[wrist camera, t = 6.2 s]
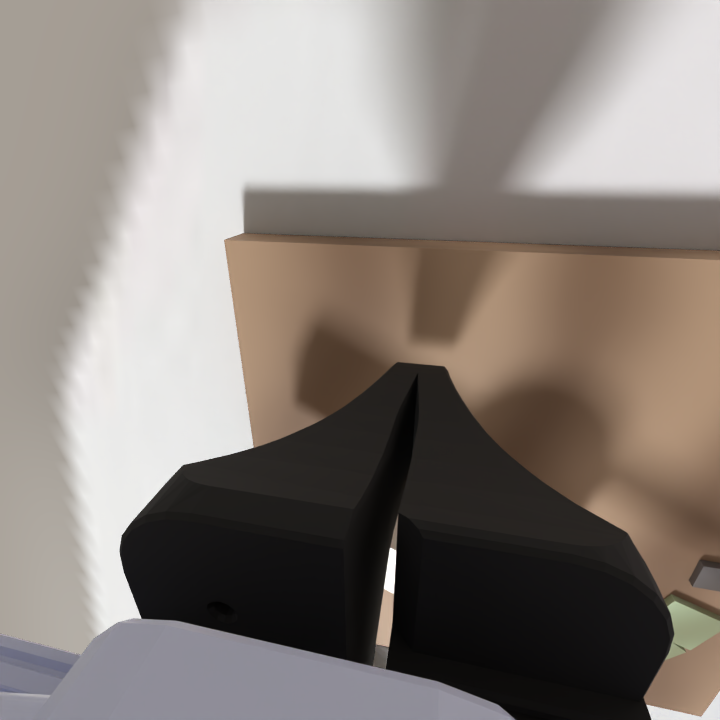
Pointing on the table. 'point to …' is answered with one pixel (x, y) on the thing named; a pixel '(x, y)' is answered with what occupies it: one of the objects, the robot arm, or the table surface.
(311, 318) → the board
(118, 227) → the table surface
